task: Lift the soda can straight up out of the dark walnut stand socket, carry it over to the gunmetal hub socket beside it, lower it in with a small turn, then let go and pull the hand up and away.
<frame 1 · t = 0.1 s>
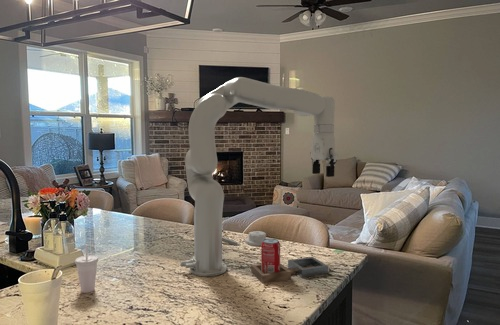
hand: (322, 175, 142), 31 cm above the kitchen island, tool pointing down, fingers open, 9 cm apart
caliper: (217, 243, 161), on the kitchen island
stand socket: (270, 275, 124), on the kitchen island
soda can: (270, 276, 124), resting in stand socket
mechanical component: (257, 243, 161), on the kitchen island
smoothie: (87, 290, 112), on the kitchen island
hub socket: (307, 270, 129), on the kitchen island
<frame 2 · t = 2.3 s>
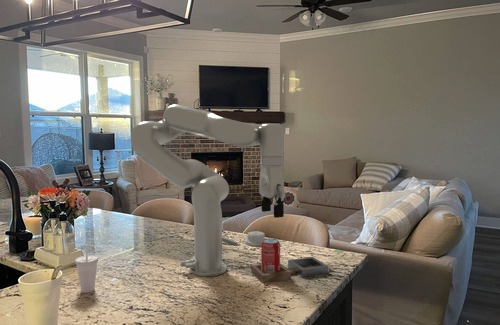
hand: (272, 214, 122), 21 cm above the kitchen island, tool pointing down, fingers open, 9 cm apart
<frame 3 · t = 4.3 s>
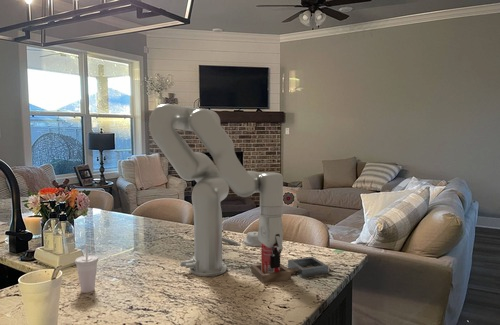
hand: (270, 263, 123), 4 cm above the kitchen island, tool pointing down, fingers closed on soda can, 6 cm apart
soda can: (270, 276, 124), resting in stand socket, touching gripper
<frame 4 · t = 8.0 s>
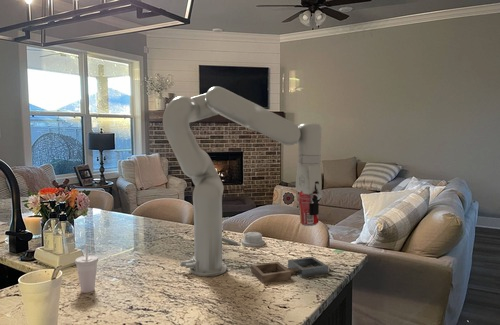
hand: (308, 212, 127), 20 cm above the kitchen island, tool pointing down, fingers closed on soda can, 6 cm apart
soda can: (309, 224, 127), point 16 cm above the kitchen island, touching gripper
mechanical component: (253, 244, 159), on the kitchen island
everything else where it was.
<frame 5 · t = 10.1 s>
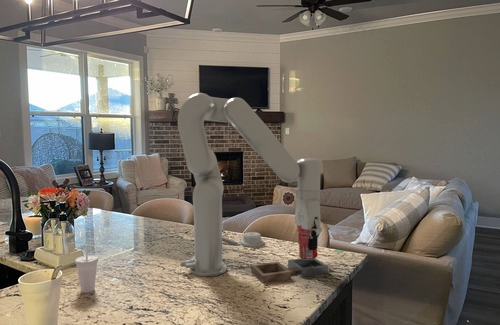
hand: (307, 246, 128), 8 cm above the kitchen island, tool pointing down, fingers closed on soda can, 6 cm apart
soda can: (308, 258, 128), point 4 cm above the kitchen island, touching gripper
when the fingers open (5 cm above the kitchen island, at t = 11.9 s): soda can drops 1 cm, resting in hub socket.
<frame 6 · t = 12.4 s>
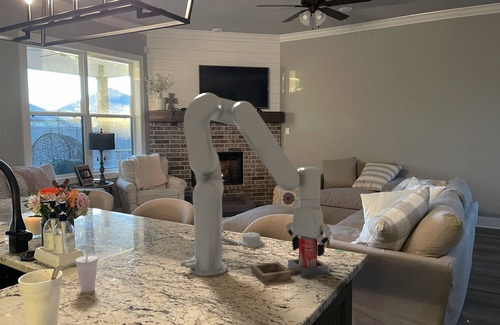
hand: (307, 252, 128), 6 cm above the kitchen island, tool pointing down, fingers open, 9 cm apart
soda can: (307, 270, 129), resting in hub socket
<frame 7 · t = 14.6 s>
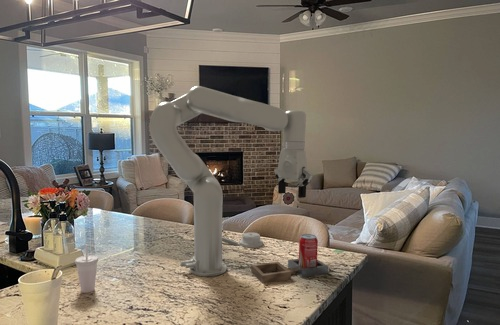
hand: (291, 195, 131), 25 cm above the kitchen island, tool pointing down, fingers open, 9 cm apart
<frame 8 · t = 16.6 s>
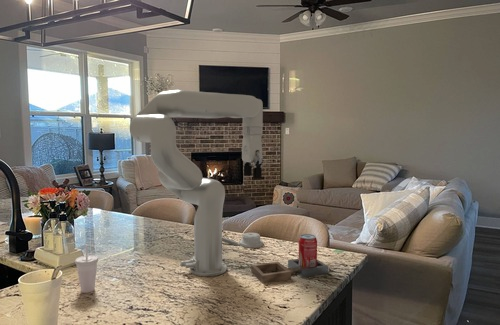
hand: (252, 176, 142), 30 cm above the kitchen island, tool pointing down, fingers open, 9 cm apart
at the end: soda can 0.1 cm off-centre on the hub socket, point 0.0 cm above the hub socket's base; soda can tilted 1°; the gripper is holding nothing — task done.
